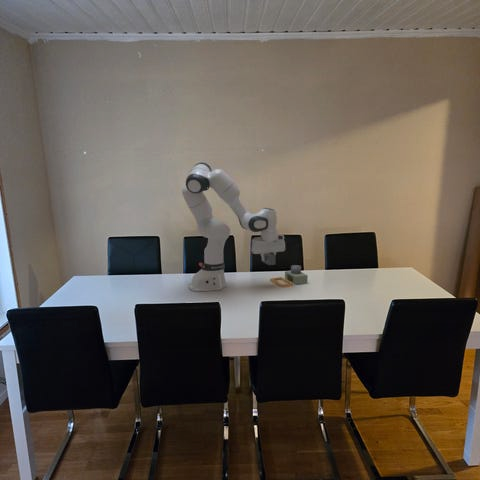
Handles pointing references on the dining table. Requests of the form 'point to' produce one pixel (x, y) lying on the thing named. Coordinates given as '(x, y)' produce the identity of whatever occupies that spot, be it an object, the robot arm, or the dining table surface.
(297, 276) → the grey and tan shapes
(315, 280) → the dining table surface
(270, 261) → the dark grey block
